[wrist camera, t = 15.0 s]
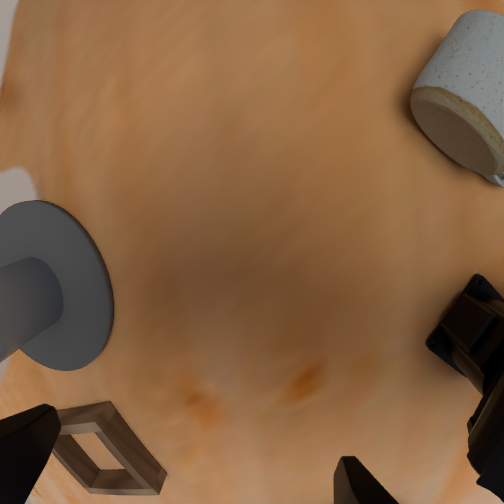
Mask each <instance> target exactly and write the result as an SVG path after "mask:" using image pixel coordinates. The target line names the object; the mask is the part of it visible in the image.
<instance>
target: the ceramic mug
mask: <svg viewBox="0 0 504 504" xmlns="http://www.w3.org/2000/svg"><path fill="white" fill-rule="evenodd" d="M410 107H411V110H412V113H413V116H414V118H415V120H416V122H417V123H418V125H419V127H420V128H421V129H422V130H423V132H424V133H425V134H426V135H427V136H428V138H429V139H430V140H431V141H432V142H433V143H434V144H435V145H436V146H437V147H438V148H440V149H441V150H442V151H443V152H444V153H445V154H447V155H448V156H449V157H450V158H452V159H453V160H455V161H456V162H458V163H459V164H461V165H462V166H464V167H466V168H467V169H470V170H472V171H474V172H476V173H479V174H482V175H483V176H484V177H485V178H486V179H487V180H489V181H490V182H492V183H494V184H496V185H498V186H501V187H504V15H502V14H499V13H496V12H493V11H488V10H471V11H468V12H466V13H464V14H462V15H461V16H460V17H459V18H458V19H457V20H456V22H455V23H454V25H453V26H452V28H451V30H450V31H449V33H448V34H447V36H446V37H445V38H444V40H443V41H442V43H441V44H440V45H439V47H438V48H437V50H436V52H435V53H434V55H433V56H432V58H431V59H430V60H429V62H428V63H427V64H426V66H425V67H424V69H423V70H422V71H421V73H420V74H419V76H418V78H417V80H416V82H415V84H414V86H413V89H412V92H411V95H410Z"/></svg>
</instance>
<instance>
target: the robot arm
mask: <svg viewBox="0 0 504 504" xmlns="http://www.w3.org/2000/svg"><path fill="white" fill-rule="evenodd" d="M479 279H480V281H479V283H478V284H477V282H478V280H479ZM433 341H435V342H434V344H433V345H431V343H432V342H433ZM426 346H427V347H428V348H429V350H431V351H432V352H433V353H435V354H436V355H437V356H439V357H440V358H441V359H443V360H444V361H445V362H447V363H448V364H449V365H451V366H452V367H453V368H454V369H456V370H457V371H458V372H460V373H461V374H462V375H464V376H465V377H466V378H468V379H469V380H470V382H471V383H472V384H473V385H474V386H475V387H476V389H477V390H478V391H479V392H480V394H481V395H482V396H483V397H482V399H481V401H480V403H479V405H478V407H477V409H476V411H475V412H474V414H473V416H472V417H470V419H469V421H468V422H467V428H468V433H469V437H468V448H469V452H468V453H467V457H468V460H469V462H470V464H471V466H472V467H473V468H474V470H475V471H476V472H477V474H479V475H480V477H479V478H478V479H477V481H476V483H477V484H478V485H480V486H482V487H484V488H486V489H488V490H490V491H491V492H492V493H494V494H495V495H496V496H498V497H499V498H500V499H501V500H502V501H503V502H504V299H503V298H502V297H501V296H500V294H499V293H498V292H497V291H496V290H495V289H494V288H493V286H492V285H491V284H490V283H489V282H488V281H487V280H486V279H485V278H484V277H483V276H482V275H480V274H477V275H475V276H474V277H473V279H472V280H471V282H470V283H469V285H468V286H467V287H466V289H465V290H464V292H463V293H462V295H461V296H460V297H459V299H458V300H457V302H456V303H455V304H454V306H453V307H452V308H451V310H450V311H449V312H448V314H447V315H446V316H445V318H444V319H443V320H442V322H441V323H440V324H439V325H438V327H437V328H436V329H435V331H434V332H433V333H432V334H431V336H430V337H429V338H428V339H427V341H426ZM60 431H61V422H60V419H59V417H58V413H57V410H56V409H55V407H53V406H50V405H48V404H42V405H39V406H36V407H34V408H31V409H29V410H26V411H23V412H21V413H18V414H15V415H13V416H10V417H7V418H4V419H2V420H0V504H25V502H26V500H27V498H28V496H29V494H30V493H31V491H32V489H33V487H34V485H35V483H36V482H37V480H38V478H39V476H40V474H41V473H42V471H43V469H44V467H45V465H46V464H47V461H48V459H49V457H50V455H51V452H52V450H53V447H54V445H55V443H56V441H57V438H58V436H59V434H60ZM333 480H334V504H399V503H398V502H397V501H396V500H395V499H394V498H393V497H392V496H391V495H390V494H389V493H388V491H387V490H386V489H385V488H384V487H383V486H382V485H381V484H380V483H379V482H378V481H377V480H376V479H375V477H374V476H373V475H372V474H371V473H370V472H369V471H368V470H367V469H366V468H365V467H364V465H363V464H362V463H361V462H360V461H359V460H358V459H357V458H356V457H355V456H342V457H341V458H340V460H339V462H338V465H337V467H336V470H335V473H334V479H333Z"/></svg>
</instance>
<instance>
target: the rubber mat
mask: <svg viewBox="0 0 504 504" xmlns="http://www.w3.org/2000/svg"><path fill="white" fill-rule="evenodd" d="M27 257H35V258H38V259H40V260H42V261H43V262H45V263H46V264H47V265H48V266H49V267H50V268H51V269H52V271H53V272H54V274H55V275H56V277H57V279H58V281H59V283H60V286H61V289H62V294H63V311H62V314H61V317H60V318H59V320H58V321H57V322H56V323H54V324H53V325H52V326H50V327H49V328H47V329H46V330H45V331H43V332H42V333H40V334H39V335H38V336H36V337H35V338H33V339H32V340H31V341H29V342H28V343H26V344H25V345H24V346H22V347H21V348H20V350H22V351H23V352H24V353H25V354H26V355H27V356H29V357H30V358H31V359H33V360H34V361H36V362H38V363H40V364H41V365H44V366H46V367H48V368H52V369H55V370H62V371H71V370H76V369H80V368H82V367H84V366H86V365H88V364H89V363H90V362H92V361H93V360H94V359H95V358H96V357H97V356H98V354H99V353H100V352H101V351H102V350H103V348H104V347H105V345H106V343H107V341H108V339H109V336H110V333H111V329H112V325H113V315H114V307H113V295H112V288H111V284H110V279H109V276H108V273H107V269H106V266H105V264H104V261H103V259H102V257H101V254H100V252H99V250H98V249H97V247H96V245H95V243H94V241H93V240H92V238H91V237H90V235H89V234H88V233H87V231H86V230H85V229H84V228H83V226H82V225H81V224H80V223H79V222H78V221H77V220H76V219H75V218H74V217H73V216H72V215H71V214H69V213H68V212H67V211H65V210H64V209H62V208H61V207H59V206H57V205H55V204H52V203H49V202H46V201H39V200H33V201H24V202H20V203H17V204H14V205H12V206H10V207H9V208H7V209H6V210H5V211H4V212H2V214H1V215H0V267H3V266H6V265H8V264H11V263H13V262H16V261H19V260H21V259H24V258H27Z"/></svg>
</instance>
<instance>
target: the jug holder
mask: <svg viewBox="0 0 504 504" xmlns="http://www.w3.org/2000/svg"><path fill="white" fill-rule="evenodd" d="M57 413H58V417H59V419H60V422H61V431H60V434H59V436H58V438H57V441H56V443H55V445H54V447H53V450H52V453H53V455H54V456H55V457H56V458H57V459H58V460H59V462H60V463H61V464H62V465H63V466H64V467H65V468H66V469H67V470H68V472H69V473H70V474H71V475H72V476H73V477H74V478H75V479H76V480H77V481H78V482H79V483H80V484H81V485H82V486H83V487H84V488H85V489H86V490H87V491H88V492H89V493H91V494H107V495H159V494H160V491H161V489H162V486H163V483H164V481H165V478H166V475H167V472H166V471H165V470H164V469H163V468H162V467H161V466H160V465H159V463H158V462H157V461H156V460H155V459H154V458H153V456H152V455H151V454H150V453H149V452H148V450H147V449H146V448H145V447H144V445H143V444H142V443H141V442H140V441H139V439H138V438H137V437H136V435H135V434H134V433H133V432H132V430H131V429H130V428H129V426H128V425H127V424H126V422H125V421H124V420H123V418H122V417H121V416H120V414H119V413H118V412H117V410H116V409H115V407H114V406H113V404H112V403H111V402H110V401H108V402H103V403H98V404H93V405H87V406H82V407H76V408H70V409H64V410H57ZM90 432H94V433H95V434H96V435H97V436H98V438H99V439H100V440H101V441H102V442H103V444H104V445H105V446H106V447H107V449H108V450H109V451H110V452H111V453H112V454H113V456H114V457H115V458H116V459H117V460H118V461H119V462H120V464H121V465H122V466H123V467H124V468H125V469H126V470H100V469H99V468H98V467H97V466H96V465H95V464H94V463H93V461H92V460H91V459H90V458H89V457H88V456H87V455H86V453H85V452H84V451H83V450H82V449H81V447H80V446H79V445H78V444H77V443H76V441H75V440H74V439H73V438H72V436H71V435H70V434H79V433H90Z"/></svg>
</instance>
